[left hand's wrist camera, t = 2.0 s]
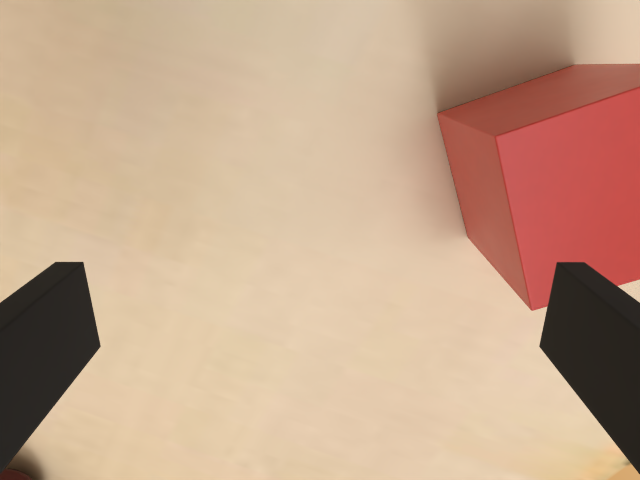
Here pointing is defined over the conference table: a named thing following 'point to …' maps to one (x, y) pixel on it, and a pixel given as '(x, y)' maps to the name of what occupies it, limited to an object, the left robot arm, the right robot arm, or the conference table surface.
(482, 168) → the block
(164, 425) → the conference table surface
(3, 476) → the maroon round ball
